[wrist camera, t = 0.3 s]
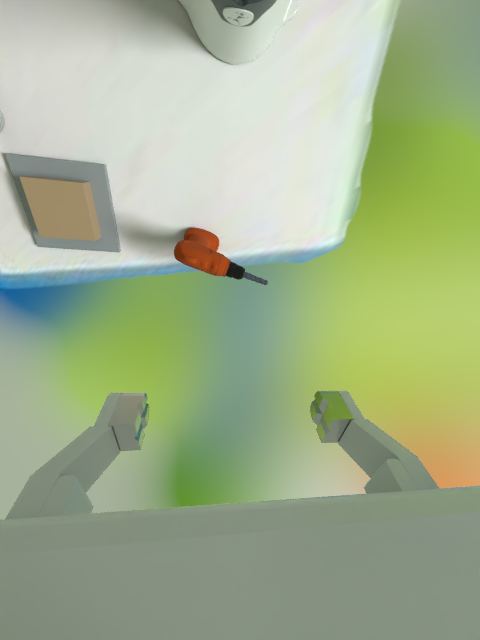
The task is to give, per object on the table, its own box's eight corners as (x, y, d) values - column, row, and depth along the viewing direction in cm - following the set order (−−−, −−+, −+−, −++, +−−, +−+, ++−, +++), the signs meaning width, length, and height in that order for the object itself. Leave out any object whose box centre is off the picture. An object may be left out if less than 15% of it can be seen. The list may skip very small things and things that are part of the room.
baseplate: (8, 153, 42) (-9, 153, 38) (105, 164, 44) (97, 164, 40) (40, 245, 50) (28, 251, 47) (120, 250, 52) (114, 256, 49)
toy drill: (259, 273, 57) (263, 300, 44) (183, 244, 54) (163, 264, 41) (268, 254, 55) (274, 277, 42) (188, 222, 51) (169, 237, 39)
